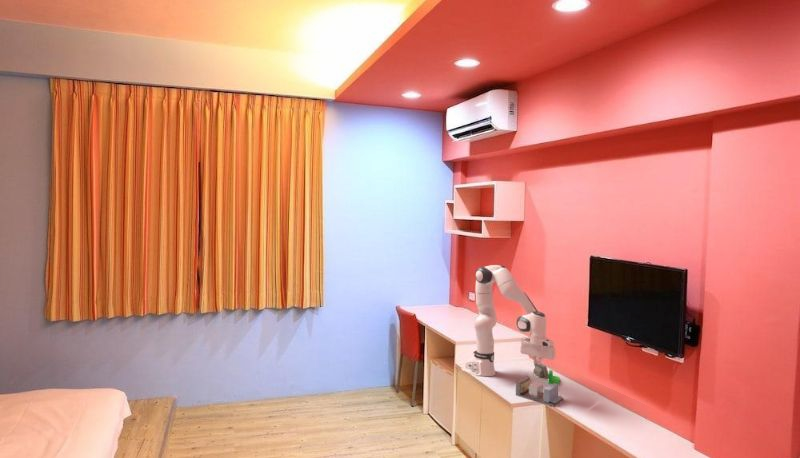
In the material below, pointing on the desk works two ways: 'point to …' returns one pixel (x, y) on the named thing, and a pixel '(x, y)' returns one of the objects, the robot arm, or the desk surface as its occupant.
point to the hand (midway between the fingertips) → (537, 364)
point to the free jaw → (551, 393)
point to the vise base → (523, 391)
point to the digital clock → (541, 371)
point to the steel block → (536, 389)
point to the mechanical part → (553, 378)
